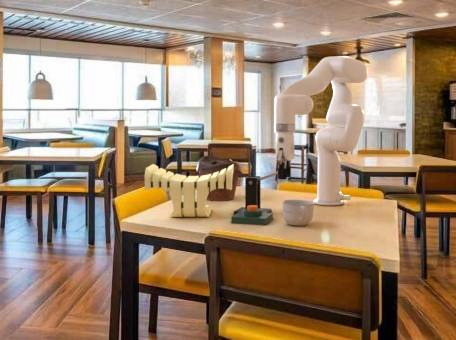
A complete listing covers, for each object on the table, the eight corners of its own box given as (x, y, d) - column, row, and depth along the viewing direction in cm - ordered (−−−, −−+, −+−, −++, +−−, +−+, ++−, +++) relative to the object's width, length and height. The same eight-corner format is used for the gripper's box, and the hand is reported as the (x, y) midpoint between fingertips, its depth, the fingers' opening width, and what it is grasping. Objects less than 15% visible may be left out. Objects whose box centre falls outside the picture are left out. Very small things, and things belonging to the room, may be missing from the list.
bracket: (271, 211, 205) (271, 175, 203) (264, 216, 196) (265, 179, 194) (241, 210, 207) (241, 174, 206) (233, 214, 198) (233, 177, 197)
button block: (272, 219, 192) (272, 208, 191) (264, 225, 182) (264, 213, 182) (240, 217, 194) (240, 206, 194) (231, 223, 185) (231, 211, 184)
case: (240, 202, 223) (240, 159, 220) (192, 201, 223) (191, 158, 221) (246, 195, 240) (246, 155, 238) (201, 194, 240) (201, 154, 238)
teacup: (281, 220, 189) (282, 198, 188) (312, 220, 190) (312, 198, 189) (283, 230, 176) (283, 205, 175) (316, 229, 177) (316, 205, 176)
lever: (289, 171, 200) (287, 165, 200) (285, 173, 195) (283, 167, 194) (252, 184, 203) (250, 178, 203) (248, 186, 198) (246, 180, 198)
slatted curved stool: (145, 219, 189) (144, 168, 187) (154, 210, 204) (153, 163, 202) (231, 218, 192) (231, 169, 189) (233, 209, 207) (233, 163, 205)
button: (258, 210, 189) (259, 205, 189) (255, 212, 186) (255, 207, 185) (249, 209, 190) (249, 204, 190) (245, 211, 186) (245, 206, 186)
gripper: (289, 130, 186) (288, 181, 189) (300, 128, 203) (299, 175, 205) (268, 129, 188) (268, 180, 190) (280, 127, 204) (280, 174, 207)
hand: (284, 177), depth 198 cm, fingers closed on lever, 5 cm apart
